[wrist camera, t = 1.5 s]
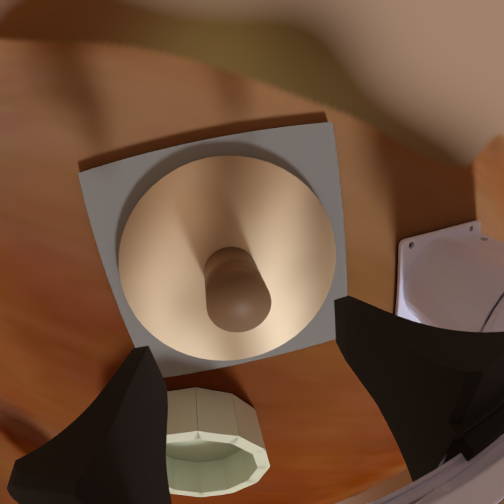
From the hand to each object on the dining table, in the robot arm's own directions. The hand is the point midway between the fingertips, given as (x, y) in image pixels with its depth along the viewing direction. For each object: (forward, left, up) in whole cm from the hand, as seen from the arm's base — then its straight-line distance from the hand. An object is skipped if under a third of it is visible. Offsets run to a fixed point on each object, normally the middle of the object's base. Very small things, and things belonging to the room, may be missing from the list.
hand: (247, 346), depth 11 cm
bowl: (+6, +15, -9) cm, 18 cm away
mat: (0, 0, -9) cm, 9 cm away
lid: (0, 0, -8) cm, 8 cm away
